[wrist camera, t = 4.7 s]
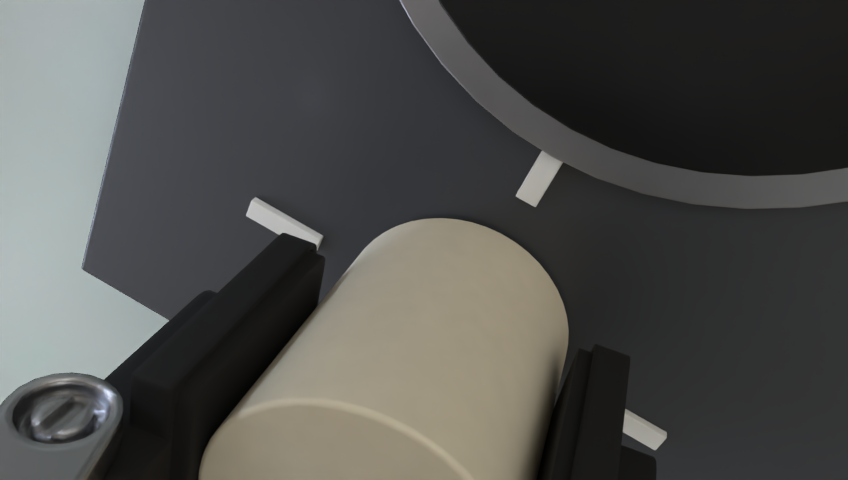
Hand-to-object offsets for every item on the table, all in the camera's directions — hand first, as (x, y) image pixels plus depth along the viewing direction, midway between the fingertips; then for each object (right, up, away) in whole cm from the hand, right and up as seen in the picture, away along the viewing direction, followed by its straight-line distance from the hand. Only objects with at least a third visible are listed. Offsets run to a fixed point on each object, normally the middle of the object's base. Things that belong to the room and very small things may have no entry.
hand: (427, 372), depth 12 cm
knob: (0, +1, +1) cm, 2 cm away
